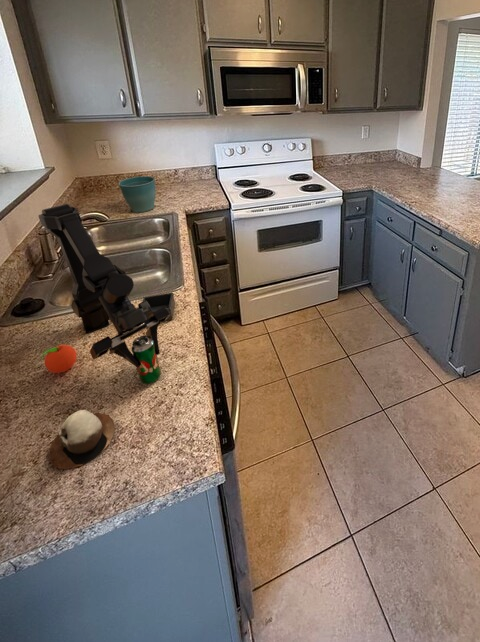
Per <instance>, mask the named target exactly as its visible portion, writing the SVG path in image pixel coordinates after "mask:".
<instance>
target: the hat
mask: <svg viewBox="0 0 480 642" xmlns="http://www.w3.org/2000/svg"><path fill="white" fill-rule="evenodd" d="M115 429H116V425H115V422H114V419H113V418H112V417H111V416H110V415H107V414H105V413H98V412H97V413H92V412H90V411H88V410H87V409H80V410H78V411H75V412H73V413H72V414H70V415H69V416H68V417H67V418H66V420H65V421H64V422H63V423H62V425H61V427H60V430H59V432H58V434H57V435H56V436H55V437H54V438H53V440H52V442H51V444H50V447H49V449H48V459H49V462H50V463H51V465H52V466H53V467H55V468H57V469H63V470H66V469H67V470H68V469H74V468H77V467H81V466H82V465H85V464H88V463H90V462H91V461H93V460H94V459H96V458H97V457H98V456H99V455H100V454H102V453H103V451H105V449H106V448H107V447H108V446H109V444H110V443H111V441H112V440H113V437H114V435H115V434H114V433H115V432H116V431H115Z"/></svg>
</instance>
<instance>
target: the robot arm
mask: <svg viewBox="0 0 480 642" xmlns="http://www.w3.org/2000/svg"><path fill="white" fill-rule="evenodd" d="M38 220H39V222H40V224H41V226H42V227H43V228H44V229H45V230H46V232H48V233H49V234H50V235H52V236H54V237H55V238H56V239H57V241H58V244H59V247H60V249H61V252H62V254H63V257H64V260H65V263H66V264H67V265H66V266H67V267H68V270H69V272H70V275H71V277H72V279H73V282H74V285H73V288H72V292H71V295H72V297H73V299H72V301H71V305H70V306H71V309H72V312H73V313H74V314H75V315H76V316H77V317H78V318H79V319H80V318H81V322H82V325H83V329H84V333H85V334H90V333H92V332H95V331H98V330H100V329H103V328H105V327H108V326H110V323H112V326H113V327H114V329H115V330H116V332H117V335H115V336H112V337H110V336H109V335H107V336H106V337H103V338H101V339H99V340H97V341H96V342H94V343H92V345H91V347H90V350H89V353H90V355H91V357H92V360H97V359H99V358H100V357H102V356H104V355H105V354H107V353H108V352H109V355H113V354H115V355H117V356H119V357H121V358H123V359H124V360H126V361H127V362H129V364H131V365H132V366H134V367H135V368H136V367H137V368H138V367H139V364H138V362H137V360H136V359H135V357H134V356H133V353H132V351H131V350H130V349H129V348H128V345H127V342H126V341H125V340H126V339H129V338H130V337H132V336H133V335H135V334H137V333H139V332H141V331H143V330H146V331H145V334H144V335H145V336H146V335H147V336H150V337H151V339H153V341H154V345H155V349H156V353H157V356H159V355H160V346H159V338H158V329H159V327H160V326H161V324H162V323H164V322H166V321H165V320H166V319H167V318H168V317H169V316H170V315H171V313H170V311H169V310H168V309H167V308H166V307H163V308H161V309H159V310H157V311H155V312H153V313H152V314H151V315H150V316H149V318H148V319H147V318H146V315H147V314H149V313H151V312H152V309H151V307H150V305H149V303H148V302H147V301H144V302H142V301H141V302H139V303H138V304H137V306H138V307H136V306H135V304H134V303H132V302H131V300H130V298H129V297H130V294H131V293H132V291H133V289H134V285H135V284H134V283H135V282H134V280H133V278H132V277H131V276H130V275H128V274H126V271H124V270H123V269H121V268H120V267H119V266H117V265H116V264H113V262H112V261H111V259H110V258H109V257H108V256H105V255H103V254H101V252H100V251H99V250H98V248H97V247H96V245H95V243H94V242H93V240H92V239H91V237H90V235H89V233H88V231H87V229H86V228H85V227H84V225H83V221H82V218H81V215H80V212H79V208H78V207H76V206H75V205H73V206H72V205H71V206H70V205H69V204H68V203H63V204H60V205H55V206H52V207H47V208H43V209H42V210H41V214H38ZM109 321H110V322H109ZM137 368H136V369H137Z"/></svg>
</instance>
